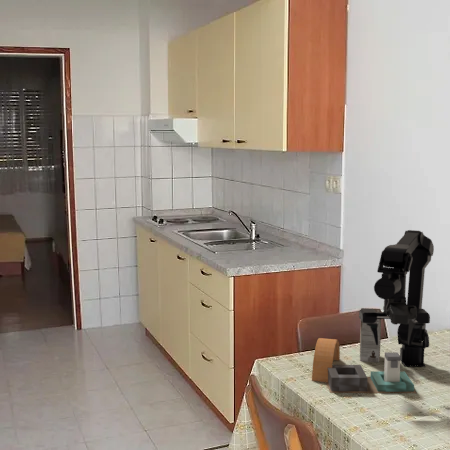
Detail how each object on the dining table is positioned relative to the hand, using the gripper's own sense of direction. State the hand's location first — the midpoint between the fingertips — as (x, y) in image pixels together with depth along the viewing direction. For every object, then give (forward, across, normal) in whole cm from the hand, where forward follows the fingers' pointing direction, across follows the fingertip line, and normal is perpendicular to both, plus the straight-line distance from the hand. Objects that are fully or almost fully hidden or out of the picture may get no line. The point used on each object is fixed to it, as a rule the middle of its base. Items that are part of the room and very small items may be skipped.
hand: (392, 345), depth 177 cm
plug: (+12, 0, 0) cm, 12 cm away
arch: (+13, -17, +12) cm, 24 cm away
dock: (+13, -6, 0) cm, 14 cm away
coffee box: (+13, -1, +23) cm, 27 cm away
